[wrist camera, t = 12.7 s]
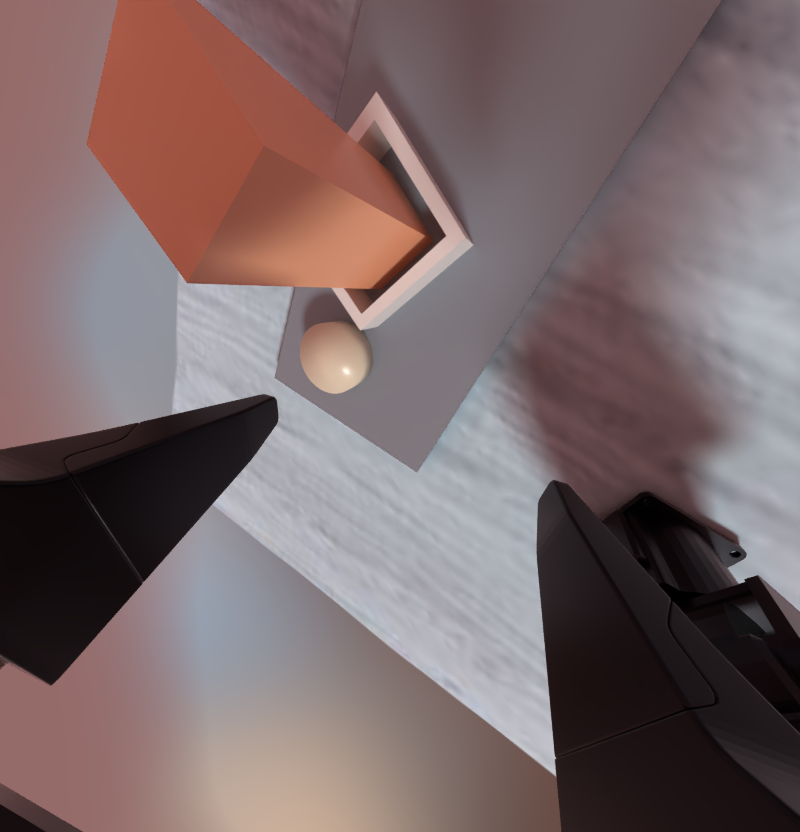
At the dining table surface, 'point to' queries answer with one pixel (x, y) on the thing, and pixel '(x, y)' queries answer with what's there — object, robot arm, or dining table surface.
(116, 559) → the robot arm
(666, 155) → the dining table surface
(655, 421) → the dining table surface
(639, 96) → the board
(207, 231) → the orange square prism
